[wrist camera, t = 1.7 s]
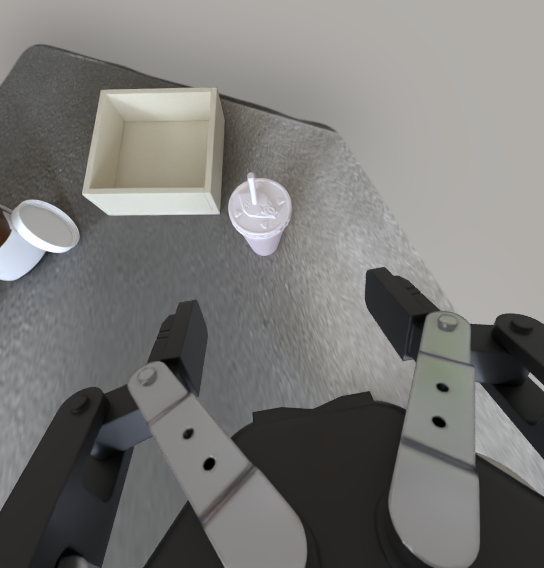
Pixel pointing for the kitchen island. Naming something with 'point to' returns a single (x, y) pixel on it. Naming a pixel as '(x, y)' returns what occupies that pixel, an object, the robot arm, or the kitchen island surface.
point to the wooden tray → (157, 152)
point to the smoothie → (260, 213)
